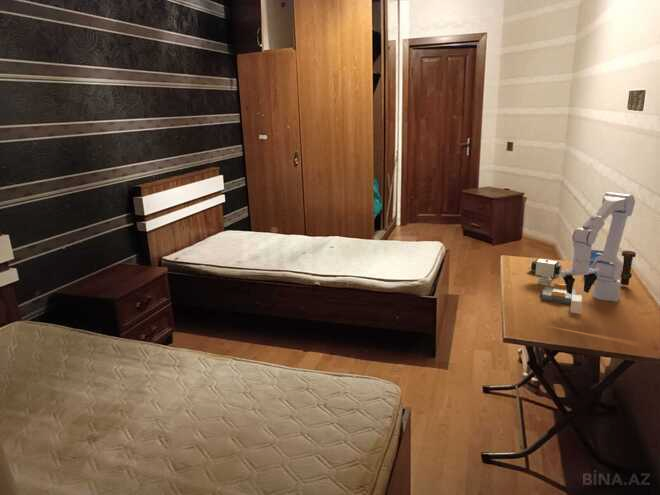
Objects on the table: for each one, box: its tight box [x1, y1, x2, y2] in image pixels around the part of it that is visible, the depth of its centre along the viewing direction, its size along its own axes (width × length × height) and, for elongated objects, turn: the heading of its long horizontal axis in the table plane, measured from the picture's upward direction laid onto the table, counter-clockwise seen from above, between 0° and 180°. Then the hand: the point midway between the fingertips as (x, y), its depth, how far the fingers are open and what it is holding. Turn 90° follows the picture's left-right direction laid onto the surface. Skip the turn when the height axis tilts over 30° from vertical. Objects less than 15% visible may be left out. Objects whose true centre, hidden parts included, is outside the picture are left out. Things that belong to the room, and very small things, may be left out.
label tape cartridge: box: [589, 249, 611, 268], centre depth 221 cm, size 9×4×12 cm, turn 61°
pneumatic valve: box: [530, 258, 563, 286], centre depth 214 cm, size 6×12×12 cm, turn 53°
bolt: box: [620, 250, 637, 286], centre depth 210 cm, size 6×5×15 cm
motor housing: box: [540, 282, 577, 305], centre depth 200 cm, size 15×12×4 cm
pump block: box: [570, 294, 583, 315], centre depth 188 cm, size 4×7×5 cm, turn 154°
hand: (577, 292), depth 187 cm, fingers open, 6 cm apart
